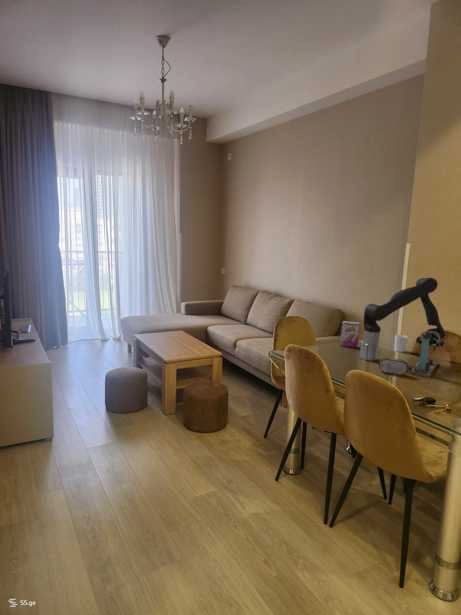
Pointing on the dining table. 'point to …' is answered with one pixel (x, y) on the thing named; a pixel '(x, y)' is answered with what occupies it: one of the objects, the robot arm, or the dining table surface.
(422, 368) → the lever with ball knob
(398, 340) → the white cup
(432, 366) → the press base
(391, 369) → the tin
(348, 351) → the dining table surface
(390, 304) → the robot arm
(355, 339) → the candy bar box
